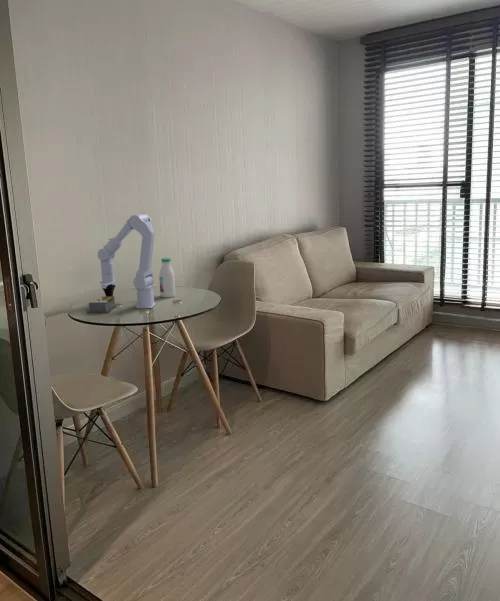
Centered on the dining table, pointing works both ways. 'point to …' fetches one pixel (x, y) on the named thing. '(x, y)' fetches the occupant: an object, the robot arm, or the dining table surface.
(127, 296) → the dining table surface
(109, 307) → the gauge frame
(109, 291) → the robot arm
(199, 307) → the dining table surface
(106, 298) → the wooden t-shaped block
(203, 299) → the dining table surface
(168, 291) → the milk bottle
